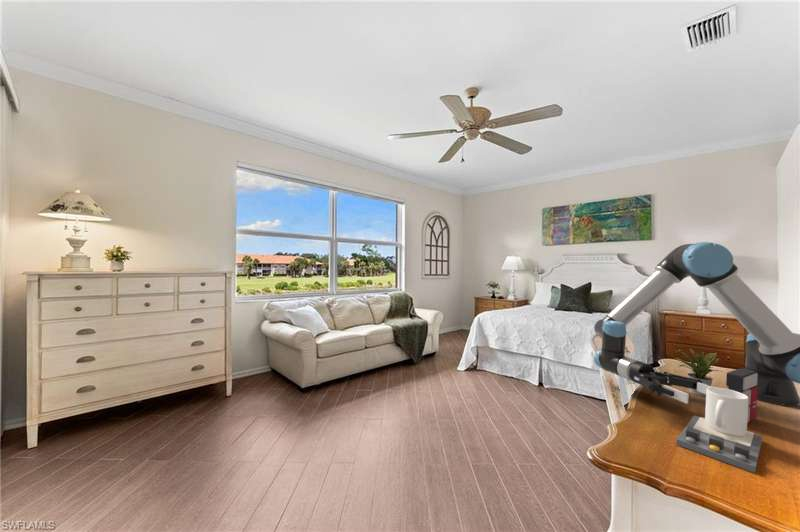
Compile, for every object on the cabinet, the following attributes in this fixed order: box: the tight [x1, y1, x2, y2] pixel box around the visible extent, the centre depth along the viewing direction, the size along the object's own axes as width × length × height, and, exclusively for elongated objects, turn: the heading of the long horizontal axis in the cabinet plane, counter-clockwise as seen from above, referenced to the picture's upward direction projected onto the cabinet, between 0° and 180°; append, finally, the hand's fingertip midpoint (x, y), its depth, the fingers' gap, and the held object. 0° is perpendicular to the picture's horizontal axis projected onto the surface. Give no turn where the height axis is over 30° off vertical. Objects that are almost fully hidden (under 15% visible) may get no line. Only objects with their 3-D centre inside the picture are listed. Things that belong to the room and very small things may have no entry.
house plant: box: [674, 348, 723, 397], centre depth 121 cm, size 14×14×16 cm
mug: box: [704, 386, 748, 436], centre depth 90 cm, size 12×8×10 cm
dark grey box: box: [725, 367, 758, 424], centre depth 100 cm, size 11×4×15 cm, turn 117°
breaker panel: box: [676, 415, 763, 474], centre depth 87 cm, size 22×14×4 cm, turn 129°
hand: (705, 397), depth 94 cm, fingers open, 13 cm apart
